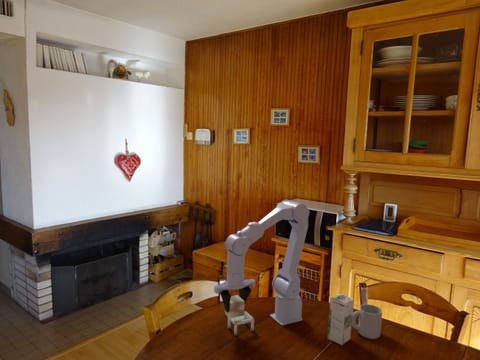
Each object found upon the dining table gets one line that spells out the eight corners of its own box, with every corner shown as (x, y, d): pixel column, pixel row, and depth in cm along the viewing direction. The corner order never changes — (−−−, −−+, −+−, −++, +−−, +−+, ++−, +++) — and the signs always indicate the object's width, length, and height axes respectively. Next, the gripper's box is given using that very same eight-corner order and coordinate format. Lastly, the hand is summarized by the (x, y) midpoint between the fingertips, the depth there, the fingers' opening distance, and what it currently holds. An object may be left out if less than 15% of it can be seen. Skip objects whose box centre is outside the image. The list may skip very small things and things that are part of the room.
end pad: (241, 310, 136) (241, 309, 136) (250, 318, 130) (250, 317, 130) (225, 313, 132) (225, 312, 132) (233, 322, 126) (233, 321, 126)
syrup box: (335, 332, 122) (338, 292, 120) (351, 339, 118) (354, 298, 116) (326, 338, 118) (329, 297, 116) (342, 346, 114) (345, 303, 112)
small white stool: (245, 322, 126) (246, 311, 126) (254, 330, 121) (254, 318, 121) (227, 327, 123) (227, 315, 122) (234, 335, 118) (235, 323, 117)
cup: (382, 340, 118) (384, 315, 117) (352, 337, 119) (353, 312, 118) (377, 329, 125) (378, 305, 124) (348, 326, 126) (349, 302, 125)
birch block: (237, 308, 122) (237, 295, 122) (244, 315, 118) (244, 301, 117) (224, 311, 120) (224, 297, 119) (230, 318, 115) (231, 303, 115)
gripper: (248, 263, 124) (247, 300, 125) (210, 269, 117) (210, 308, 119) (258, 270, 118) (257, 309, 119) (219, 277, 111) (218, 317, 113)
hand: (234, 309), depth 119 cm, fingers closed on birch block, 5 cm apart
